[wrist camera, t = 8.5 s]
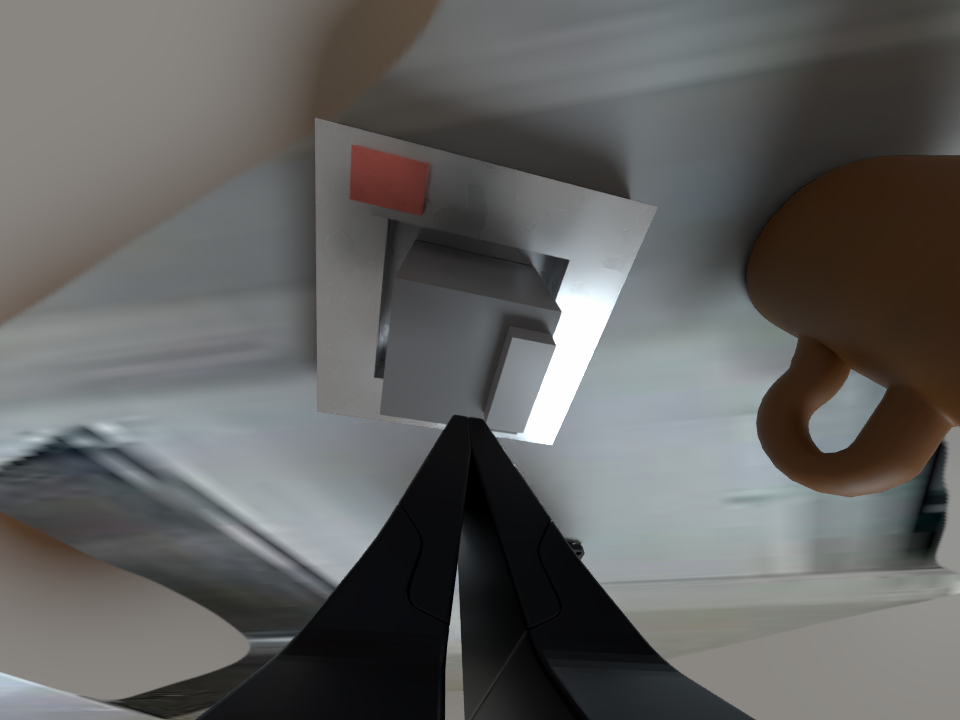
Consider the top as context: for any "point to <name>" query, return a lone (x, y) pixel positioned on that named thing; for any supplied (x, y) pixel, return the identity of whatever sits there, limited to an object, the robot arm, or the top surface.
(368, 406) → the socket plate
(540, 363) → the plug
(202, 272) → the top surface
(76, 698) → the top surface
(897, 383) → the mug
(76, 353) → the top surface
